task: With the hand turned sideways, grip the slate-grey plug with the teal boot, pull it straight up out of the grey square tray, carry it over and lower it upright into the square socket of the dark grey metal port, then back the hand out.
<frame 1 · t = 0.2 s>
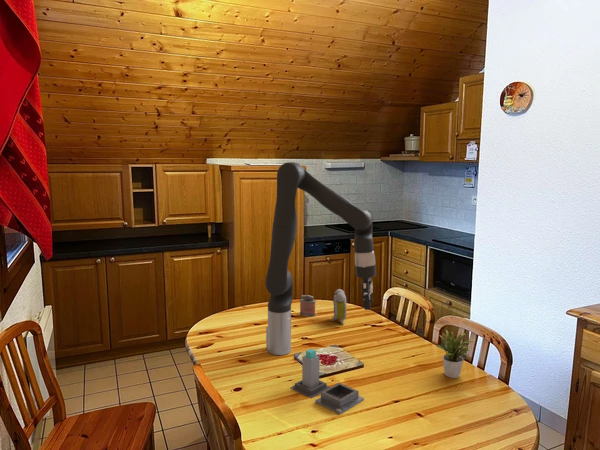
hand: (368, 306, 173), 22 cm above the table, tool pointing down, fingers open, 8 cm apart
port: (339, 402, 147), on the table
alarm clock: (338, 322, 220), on the table
lighter: (307, 315, 230), on the table
plug: (310, 387, 155), resting on grey square tray
grey square tray: (310, 388, 155), on the table
house plant: (452, 377, 165), on the table
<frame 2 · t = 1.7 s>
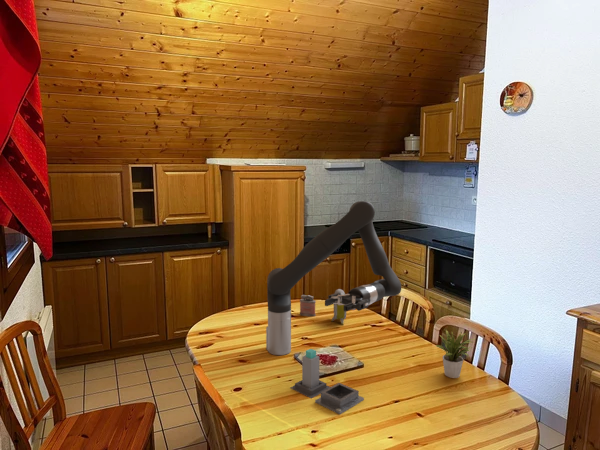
hand: (334, 305, 160), 26 cm above the table, tool horizontal, fingers open, 8 cm apart
nothing on the table moved.
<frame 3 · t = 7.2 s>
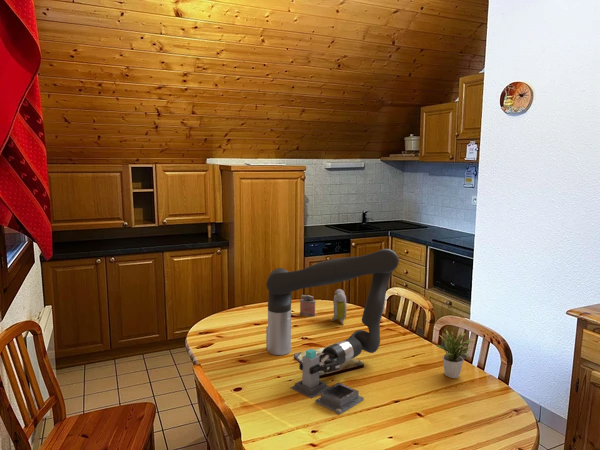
hand: (305, 369, 152), 8 cm above the table, tool horizontal, fingers closed on plug, 4 cm apart
plug: (310, 387, 155), resting on grey square tray, touching gripper
everything else where it was.
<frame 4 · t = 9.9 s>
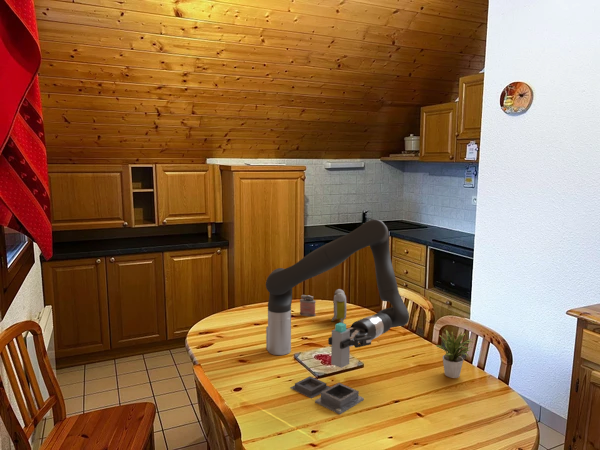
hand: (335, 343, 142), 20 cm above the table, tool horizontal, fingers closed on plug, 4 cm apart
plug: (340, 363, 145), point 12 cm above the table, touching gripper
everything else where it was.
when the fingers open (9 cm above the table, at t = 12.8 s): plug stays where it is, resting on port.
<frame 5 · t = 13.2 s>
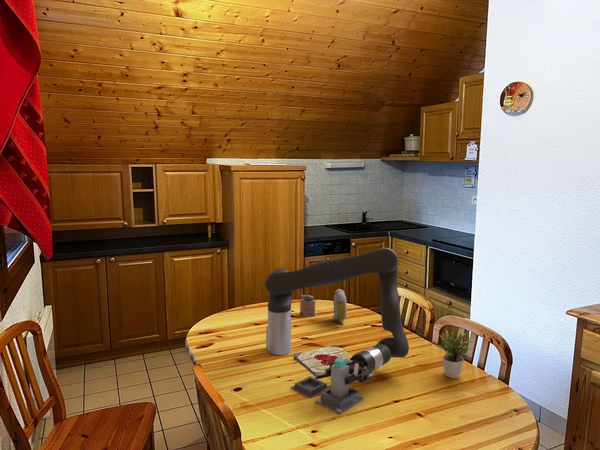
hand: (335, 377, 144), 9 cm above the table, tool horizontal, fingers open, 7 cm apart
plug: (339, 398, 147), point 1 cm above the table, touching port
everything else where it was.
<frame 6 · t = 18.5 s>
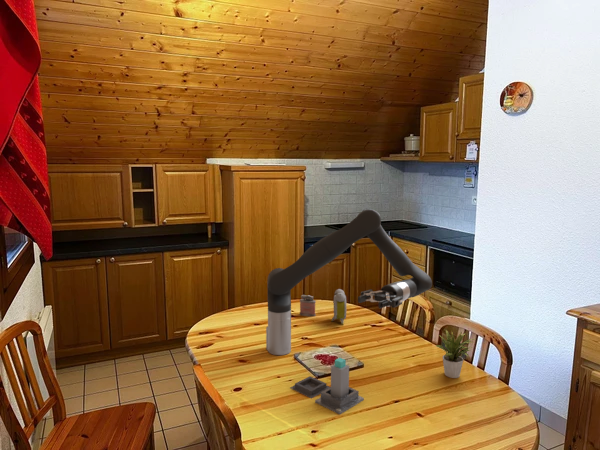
hand: (369, 302, 157), 28 cm above the table, tool horizontal, fingers open, 8 cm apart
nothing on the table moved.
at the end: plug 0.1 cm off-centre on the port, point 1.0 cm above the port's base; plug tilted 0°; the gripper is holding nothing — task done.
